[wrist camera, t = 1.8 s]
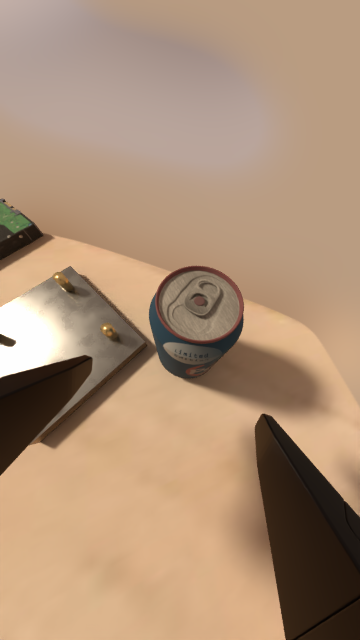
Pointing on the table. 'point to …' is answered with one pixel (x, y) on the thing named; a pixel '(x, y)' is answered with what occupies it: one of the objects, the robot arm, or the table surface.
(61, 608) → the table surface
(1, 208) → the disk drive
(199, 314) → the soda can
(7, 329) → the chassis plate
